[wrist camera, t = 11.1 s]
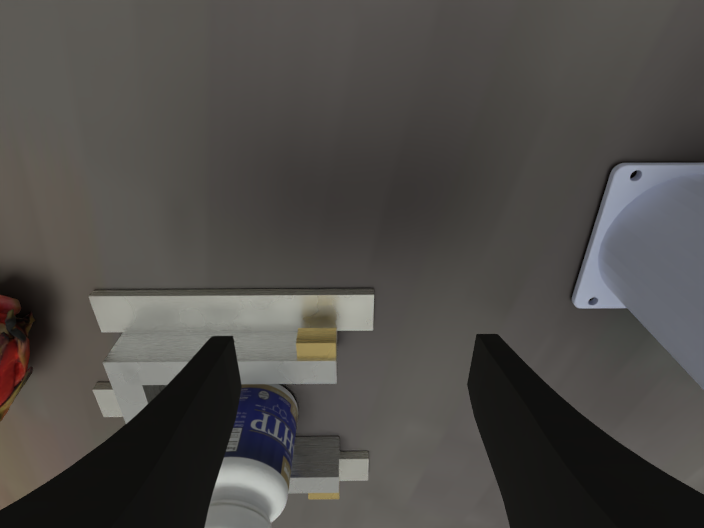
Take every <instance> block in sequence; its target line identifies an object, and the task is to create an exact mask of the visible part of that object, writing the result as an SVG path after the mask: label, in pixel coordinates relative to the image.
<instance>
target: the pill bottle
mask: <svg viewBox="0 0 704 528" xmlns="http://www.w3.org/2000/svg"><path fill="white" fill-rule="evenodd" d="M241 385H242V388H241V393H240V399H239V405H238V410H237V415H236V420H235V423H234V426H233V430H232V433H231V436H230V439H229V443H228V446H227V449H226V452H225V455H224V459H223V462H222V465H221V468H220V471H219V474H218V478H217V481H216V484H215V487H214V490H213V494H212V498H211V501H210V505H209V509H208V514H207V518H206V523H205V528H271V522H272V521H274V520H275V519H276V518H277V517H278V516H279V515H280V514H281V513H282V511H283V509H284V507H285V505H286V502H287V497H288V492H289V484H290V477H291V468H292V460H293V451H294V443H295V435H296V427H297V419H298V406H297V403H296V401H295V399H294V397H293V396H292V394H291V393H290V392H289V391H288V390H287V389H286V388H284V387H283V386H281V385H279V384H241Z"/></svg>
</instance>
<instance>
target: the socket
mask: <svg viewBox="0 0 704 528" xmlns="http://www.w3.org/2000/svg"><path fill="white" fill-rule="evenodd" d="M88 297H89V299H90V302H91V305H92V308H93V310H94V313H95V316H96V318H97V321H98V324H99V327H100V329H101V332H123V333H122V335H121V336H120V338H119V339H118V341H117V342H116V344H115V345H114V347H113V348H112V350H111V351H110V352H109V354H108V355H107V357H106V358H105V360H104V361H103V365H104V367H105V370H106V373H107V375H108V378H109V381H110V382H97V384H96V385H95V387H94V388H93V392H94V395H95V397H96V400H97V402H98V404H99V407H100V409H101V412H102V414H103V416H104V417H124V420H125V423H126V424H127V423H128V422H129V421H130V420H131V419H132V418H133V417H135V416H136V415H137V414H138V413H139V412H140V411H141V410H142V409H143V408H144V407H145V406H146V405H147V404H148V403H149V402H150V401H152V400H153V399H154V398H155V397H156V396H157V395H158V394H159V393H160V392H161V391H162V390H163V389H164V388H165V387H166V386H167V385H168V384H169V383H170V381H171V380H172V379H173V378H174V377H175V376H176V375H177V374H178V373H179V372H180V371H181V370H182V369H183V368H184V367H185V365H186V364H187V363H188V362H189V361H190V360H191V359H192V358H193V357H194V355H195V354H196V353H197V352H198V351H199V350H200V349H201V347H202V346H203V345H204V344H205V343H206V342H207V341H208V340H209V339H210V338H211V337H212V336H233V339H234V344H235V350H236V356H237V362H238V367H239V373H240V379H241V384H337V348H338V342H337V331H373V313H374V289H200V290H94V291H93V292H92V293H91V294H90V295H89V296H88ZM368 464H369V456H368V451H352V452H340V447H339V436H325V437H295V443H294V451H293V460H292V468H291V477H290V484H289V492H288V493H308V498H309V499H339V481H364V480H368Z"/></svg>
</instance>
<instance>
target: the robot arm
mask: <svg viewBox="0 0 704 528" xmlns="http://www.w3.org/2000/svg"><path fill="white" fill-rule="evenodd" d="M636 170H637V174H636V175H635V176H634V177H633V178H630V175H631V174H632V173H633V172H634V171H636ZM593 297H594V299H593V300H591V301H589V299H591V298H593ZM572 302H573V304H574V305H575V306H576V307H577V308H627V309H628V310H629V311H630V312H631V313H632V314H633V315H634V316H635V317H636V318H637V319H638V320H639V321H640V322H641V323H642V325H643V326H644V327H645V328H646V329H647V330H648V331H649V332H650V333H651V334H652V335H653V336H654V337H655V338H656V339H657V341H658V342H659V343H660V344H661V345H662V346H663V347H664V348H665V349H666V350H667V351H668V352H669V353H670V354H671V356H672V357H673V358H674V359H675V360H676V361H677V362H678V363H679V364H680V365H681V366H682V367H683V368H684V369H685V370H686V372H687V373H688V374H689V375H690V376H691V377H692V378H693V379H694V380H695V381H696V382H697V383H698V384H699V385H700V387H701V388H702V389H703V390H704V163H620V164H618V165H617V166H615V167H614V168H613V169H612V171H611V173H610V176H609V179H608V183H607V186H606V189H605V192H604V196H603V199H602V202H601V205H600V208H599V212H598V215H597V218H596V221H595V225H594V228H593V231H592V234H591V237H590V241H589V244H588V247H587V250H586V254H585V257H584V260H583V263H582V267H581V270H580V273H579V276H578V279H577V283H576V286H575V289H574V292H573V296H572ZM467 385H468V390H469V395H470V400H471V405H472V409H473V413H474V417H475V420H476V423H477V426H478V429H479V432H480V435H481V438H482V441H483V443H484V446H485V449H486V452H487V455H488V457H489V460H490V463H491V466H492V469H493V471H494V474H495V477H496V480H497V483H498V486H499V488H500V492H501V495H502V498H503V501H504V505H505V509H506V513H507V517H508V521H509V525H510V528H704V494H702V493H700V492H698V491H696V490H695V489H693V488H691V487H689V486H688V485H686V484H684V483H682V482H681V481H679V480H677V479H675V478H674V477H672V476H670V475H668V474H667V473H665V472H664V471H662V470H660V469H659V468H657V467H655V466H654V465H652V464H651V463H649V462H647V461H646V460H644V459H643V458H641V457H640V456H638V455H637V454H635V453H634V452H632V451H631V450H629V449H628V448H626V447H625V446H623V445H622V444H620V443H619V442H618V441H616V440H615V439H613V438H612V437H611V436H609V435H608V434H606V433H605V432H604V431H603V430H601V429H600V428H599V427H597V426H596V425H595V424H593V423H592V422H591V421H589V420H588V419H587V418H586V417H584V416H583V415H582V414H581V413H579V412H578V411H577V410H576V409H575V408H573V407H572V406H571V405H570V404H569V403H568V402H566V401H565V400H564V399H563V398H562V397H561V396H559V395H558V394H557V393H556V392H555V391H554V390H553V389H552V388H551V387H550V386H549V385H547V384H546V383H545V382H544V381H543V380H542V379H541V378H540V377H539V376H538V375H537V374H536V373H535V372H534V371H533V370H532V369H531V368H530V367H529V366H528V365H527V364H526V363H525V362H524V361H523V360H522V359H521V358H520V357H519V356H518V355H517V354H516V353H515V352H514V351H513V350H512V349H511V348H510V347H509V346H508V345H507V344H506V342H505V341H504V340H503V339H502V338H501V337H500V336H499V335H498V334H477V335H476V340H475V346H474V351H473V356H472V362H471V367H470V373H469V378H468V383H467ZM241 388H242V385H241V379H240V373H239V367H238V362H237V356H236V350H235V344H234V339H233V336H212V337H211V338H210V339H209V340H208V341H207V342H206V343H205V344H204V345H203V346H202V347H201V349H200V350H199V351H198V352H197V353H196V354H195V355H194V357H193V358H192V359H191V360H190V361H189V362H188V363H187V364H186V365H185V367H184V368H183V369H182V370H181V371H180V372H179V373H178V374H177V375H176V376H175V377H174V378H173V379H172V380H171V381H170V383H169V384H168V385H167V386H166V387H165V388H164V389H163V390H162V391H161V392H160V393H159V394H158V395H157V396H156V397H155V398H154V399H153V400H152V401H150V402H149V403H148V404H147V405H146V406H145V407H144V408H143V409H142V410H141V411H140V412H139V413H138V414H137V415H136V416H135V417H133V418H132V419H131V420H130V421H129V422H128V423H127V424H125V425H124V426H123V427H122V428H121V429H120V430H118V431H117V432H116V433H115V434H113V435H112V436H111V437H110V438H109V439H107V440H106V441H105V442H103V443H102V444H101V445H99V446H98V447H97V448H95V449H94V450H93V451H91V452H90V453H88V454H87V455H86V456H84V457H83V458H82V459H80V460H79V461H77V462H76V463H75V464H73V465H72V466H71V467H69V468H68V469H66V470H65V471H63V472H62V473H60V474H59V475H57V476H56V477H54V478H53V479H51V480H50V481H48V482H47V483H45V484H43V485H42V486H40V487H39V488H37V489H35V490H34V491H32V492H31V493H29V494H27V495H26V496H24V497H22V498H21V499H19V500H17V501H16V502H14V503H12V504H10V505H9V506H7V507H5V508H3V509H2V510H0V528H205V523H206V518H207V514H208V509H209V505H210V501H211V498H212V494H213V490H214V487H215V484H216V481H217V478H218V474H219V471H220V468H221V465H222V462H223V459H224V455H225V452H226V449H227V446H228V443H229V439H230V436H231V433H232V430H233V426H234V423H235V420H236V415H237V410H238V405H239V399H240V393H241Z"/></svg>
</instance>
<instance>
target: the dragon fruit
mask: <svg viewBox="0 0 704 528" xmlns="http://www.w3.org/2000/svg"><path fill="white" fill-rule="evenodd" d="M7 296H9V295H5V296H3V295H0V421H1V420H2V419H3V417H4V416H5V415H6V413H7V412H8V410H9V407H10V405H11V404H12V403H13V401H14V399H15V398H16V395H18V393H19V391H20V390H21V388H22V387H23V386H24V385H25V383H26V382H27V380H28V378H29V377H30V375H31V373H32V370H33V367H30V368H29V369H28V370H27V368H28V361H29V356H30V349H29V345H30V344H29V339H28V338H27V337H28V333H29V330H30V329H31V325H32V323H33V322H34V321H35V319H34V318H33V314H32V312H30V314H29V315H26V316H25V317H24V318H17V317H15V315H16V314H18V313H19V312H20V310H21V306H20V303H19V301H18V299H14V298H10V297H7ZM21 380H22V381H21ZM23 383H24V384H23ZM21 386H22V387H21Z"/></svg>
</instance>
